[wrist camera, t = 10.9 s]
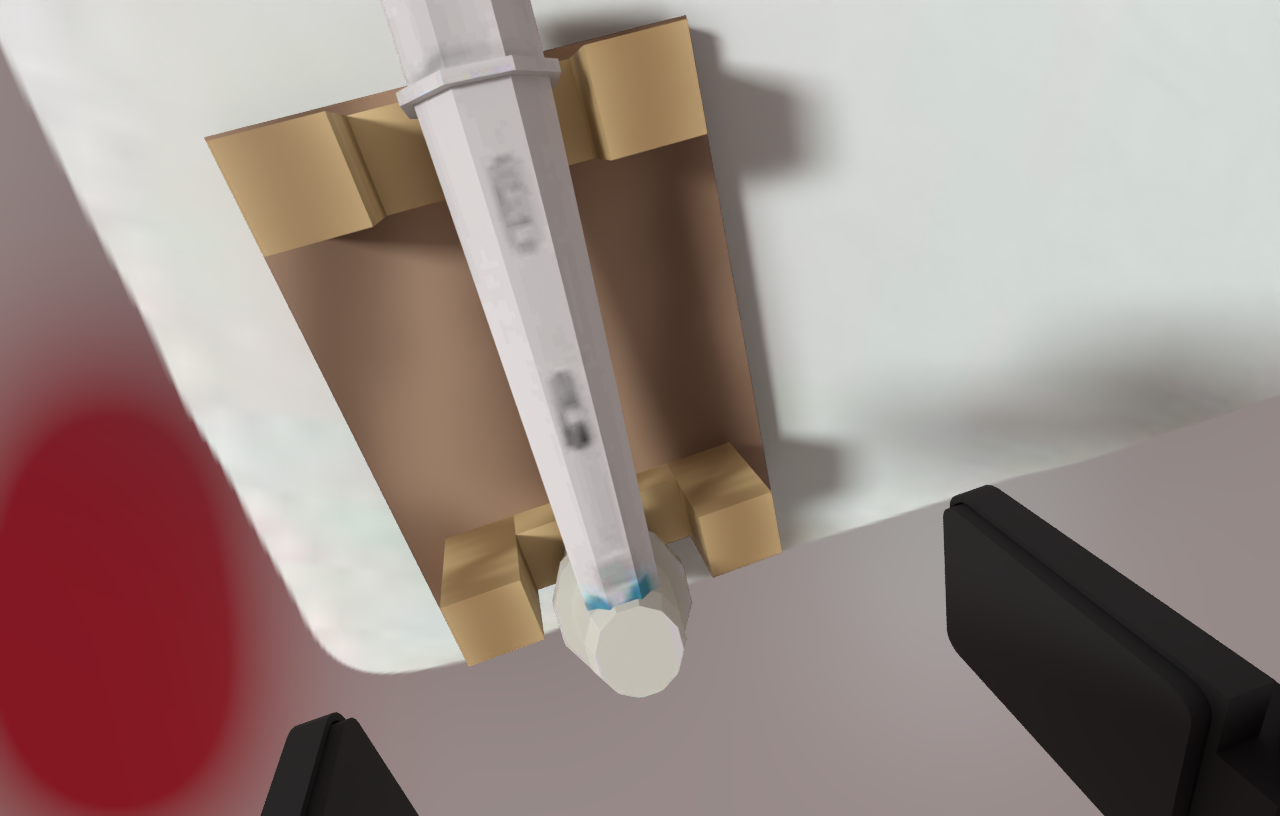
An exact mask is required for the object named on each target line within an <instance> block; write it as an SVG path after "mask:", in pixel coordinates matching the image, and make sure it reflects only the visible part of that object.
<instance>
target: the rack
mask: <svg viewBox="0 0 1280 816" xmlns="http://www.w3.org/2000/svg"><path fill="white" fill-rule="evenodd" d="M543 54H544V58H557V59H558V60H559V65H560V69H561V75H560V78H559V81H558V84H557V87H556V88H554V89H552V92H553V96H554V101H555V106H556V110H557V115H558V119H559V124H560V128H561V133H562V138H563V142H564V147H565V151H566V156H567V161H568V165H569V170H570V174H571V179H572V184H573V188H574V193H575V197H576V202H577V207H578V211H579V216H580V220H581V225H582V229H583V234H584V239H585V243H586V248H587V252H588V257H589V262H590V266H591V271H592V275H593V280H594V285H595V289H596V294H597V298H598V303H599V307H600V312H601V317H602V321H603V326H604V330H605V335H606V340H607V344H608V349H609V353H610V358H611V363H612V367H613V372H614V376H615V381H616V385H617V390H618V395H619V399H620V404H621V408H622V413H623V418H624V422H625V427H626V431H627V436H628V441H629V445H630V450H631V454H632V459H633V463H634V468H635V473H636V477H637V482H638V486H639V491H640V496H641V500H642V505H643V509H644V514H645V519H646V523H647V528H648V531H651V532H654V533H655V534H656V535H657V536H658V537H659V538H660V539H661V540H662V541H663V542H664V543H665V544H668V543H671V542H674V541H677V540H680V539H682V538H685V537H688V536H691V538H692V540H693V542H694V543H695V545H696V547H697V549H698V551H699V553H700V554H701V556H702V558H703V560H704V562H705V564H706V565H707V567H708V569H709V571H710V573H711V575H712V576H713V577H716V576H719V575H722V574H724V573H727V572H730V571H732V570H735V569H738V568H741V567H743V566H746V565H749V564H752V563H754V562H757V561H760V560H763V559H765V558H768V557H771V556H774V555H776V554H779V553H782V549H781V543H780V538H779V532H778V527H777V521H776V515H775V510H774V504H773V499H772V493H771V489H770V484H769V478H768V473H767V467H766V461H765V456H764V450H763V445H762V439H761V433H760V428H759V422H758V417H757V411H756V405H755V400H754V394H753V389H752V383H751V377H750V372H749V366H748V360H747V355H746V349H745V344H744V338H743V332H742V327H741V321H740V316H739V310H738V304H737V299H736V293H735V288H734V282H733V276H732V271H731V265H730V260H729V254H728V248H727V243H726V237H725V232H724V226H723V220H722V215H721V209H720V204H719V198H718V192H717V187H716V181H715V176H714V170H713V164H712V159H711V153H710V147H709V142H708V136H707V128H706V122H705V117H704V111H703V105H702V100H701V94H700V89H699V83H698V77H697V72H696V66H695V61H694V55H693V49H692V44H691V38H690V32H689V27H688V21H687V19H686V15H685V16H681V17H677V18H673V19H669V20H665V21H661V22H657V23H653V24H649V25H645V26H641V27H637V28H633V29H629V30H625V31H622V32H618V33H614V34H610V35H606V36H602V37H598V38H594V39H590V40H586V41H582V42H578V43H574V44H570V45H566V46H562V47H559V48H555V49H551V50H547V51H543ZM405 87H407V86H405ZM405 87H401V88H397V89H393V90H389V91H385V92H381V93H377V94H373V95H369V96H366V97H362V98H358V99H354V100H350V101H346V102H342V103H338V104H334V105H330V106H326V107H322V108H318V109H314V110H310V111H306V112H303V113H299V114H295V115H291V116H287V117H283V118H279V119H275V120H271V121H267V122H263V123H259V124H255V125H251V126H247V127H243V128H240V129H236V130H232V131H228V132H224V133H220V134H216V135H212V136H208V137H204V138H205V140H206V142H207V144H208V146H209V148H210V150H211V152H212V154H213V156H214V158H215V160H216V162H217V164H218V166H219V168H220V170H221V172H222V174H223V176H224V178H225V180H226V182H227V184H228V186H229V188H230V190H231V192H232V194H233V196H234V198H235V200H236V202H237V204H238V206H239V208H240V210H241V212H242V214H243V216H244V218H245V220H246V222H247V224H248V226H249V228H250V230H251V232H252V234H253V236H254V238H255V240H256V242H257V244H258V246H259V248H260V250H261V252H262V254H263V256H264V258H265V260H266V262H267V264H268V266H269V268H270V270H271V272H272V274H273V276H274V278H275V280H276V282H277V284H278V286H279V288H280V290H281V292H282V294H283V296H284V298H285V300H286V302H287V304H288V306H289V308H290V310H291V312H292V314H293V316H294V318H295V320H296V322H297V324H298V326H299V328H300V330H301V332H302V334H303V336H304V338H305V340H306V342H307V344H308V346H309V348H310V350H311V352H312V354H313V356H314V358H315V360H316V362H317V364H318V366H319V368H320V370H321V372H322V374H323V376H324V378H325V380H326V382H327V384H328V386H329V388H330V390H331V392H332V394H333V396H334V398H335V400H336V402H337V404H338V406H339V408H340V410H341V412H342V414H343V416H344V418H345V420H346V422H347V424H348V426H349V428H350V430H351V432H352V434H353V436H354V438H355V440H356V442H357V444H358V446H359V448H360V450H361V452H362V454H363V456H364V458H365V460H366V462H367V464H368V466H369V468H370V470H371V472H372V474H373V476H374V478H375V480H376V482H377V484H378V486H379V488H380V490H381V492H382V494H383V496H384V498H385V500H386V502H387V504H388V506H389V508H390V510H391V512H392V514H393V516H394V518H395V520H396V522H397V524H398V526H399V528H400V530H401V532H402V534H403V536H404V538H405V540H406V542H407V544H408V546H409V548H410V550H411V552H412V554H413V556H414V558H415V560H416V562H417V564H418V566H419V568H420V570H421V572H422V574H423V576H424V578H425V580H426V582H427V584H428V586H429V588H430V590H431V592H432V594H433V596H434V598H435V600H436V602H437V604H438V606H439V608H440V610H441V612H442V614H443V616H444V618H445V620H446V622H447V624H448V626H449V628H450V630H451V632H452V634H453V636H454V638H455V640H456V642H457V644H458V646H459V648H460V650H461V652H462V654H463V656H464V658H465V660H466V662H467V664H468V666H472V665H474V664H477V663H480V662H483V661H486V660H488V659H491V658H494V657H497V656H499V655H502V654H505V653H507V652H510V651H513V650H516V649H519V648H521V647H524V646H526V645H530V644H532V643H535V642H538V641H541V640H543V639H544V631H543V624H542V617H541V609H540V602H539V595H538V590H539V589H542V588H544V587H547V586H550V585H553V584H556V581H557V576H558V571H559V566H560V562H561V561H562V559H563V555H564V550H565V545H564V542H563V539H562V536H561V534H560V531H559V528H558V525H557V522H556V519H555V516H554V513H553V510H552V507H551V504H550V501H549V499H548V496H547V493H546V490H545V487H544V484H543V481H542V478H541V475H540V472H539V469H538V467H537V464H536V461H535V458H534V455H533V452H532V449H531V446H530V443H529V440H528V437H527V434H526V432H525V429H524V426H523V423H522V420H521V417H520V414H519V411H518V408H517V405H516V402H515V400H514V397H513V394H512V391H511V388H510V385H509V382H508V379H507V376H506V373H505V370H504V367H503V365H502V362H501V359H500V356H499V353H498V350H497V347H496V344H495V341H494V338H493V335H492V333H491V330H490V327H489V324H488V321H487V318H486V315H485V312H484V309H483V306H482V303H481V300H480V298H479V295H478V292H477V289H476V286H475V283H474V280H473V277H472V274H471V271H470V268H469V266H468V263H467V260H466V257H465V254H464V251H463V248H462V245H461V242H460V239H459V236H458V234H457V231H456V228H455V225H454V222H453V219H452V216H451V213H450V210H449V207H448V204H447V201H446V199H445V196H444V193H443V190H442V187H441V184H440V181H439V178H438V175H437V172H436V169H435V167H434V164H433V161H432V158H431V155H430V152H429V149H428V146H427V143H426V140H425V137H424V134H423V132H422V129H421V126H420V123H419V120H418V119H409V117H408V116H407V115H406V114H405V112H404V111H403V110H402V108H401V107H400V105H399V102H398V99H397V96H396V92H398V91H400V90H402V89H403V88H405Z"/></svg>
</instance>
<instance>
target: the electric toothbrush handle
mask: <svg viewBox="0 0 1280 816" xmlns="http://www.w3.org/2000/svg"><path fill="white" fill-rule="evenodd" d="M381 3H382V6H383V9H384V12H385V16H386V19H387V22H388V25H389V28H390V32H391V35H392V38H393V41H394V44H395V48H396V51H397V54H398V57H399V61H400V64H401V67H402V70H403V73H404V77H405V80H406V83H407V87H405V88H403V89H402V90H400V91H398V92H396V96H397V99H398V102H399V105H400V107H401V108H402V110H403V111H404V112H405V114H406V115H407V116H408V117H409V119H418V120H419V123H420V126H421V129H422V132H423V134H424V137H425V140H426V143H427V146H428V149H429V152H430V155H431V158H432V161H433V164H434V167H435V169H436V172H437V175H438V178H439V181H440V184H441V187H442V190H443V193H444V196H445V199H446V201H447V204H448V207H449V210H450V213H451V216H452V219H453V222H454V225H455V228H456V231H457V234H458V236H459V239H460V242H461V245H462V248H463V251H464V254H465V257H466V260H467V263H468V266H469V268H470V271H471V274H472V277H473V280H474V283H475V286H476V289H477V292H478V295H479V298H480V300H481V303H482V306H483V309H484V312H485V315H486V318H487V321H488V324H489V327H490V330H491V333H492V335H493V338H494V341H495V344H496V347H497V350H498V353H499V356H500V359H501V362H502V365H503V367H504V370H505V373H506V376H507V379H508V382H509V385H510V388H511V391H512V394H513V397H514V400H515V402H516V405H517V408H518V411H519V414H520V417H521V420H522V423H523V426H524V429H525V432H526V434H527V437H528V440H529V443H530V446H531V449H532V452H533V455H534V458H535V461H536V464H537V467H538V469H539V472H540V475H541V478H542V481H543V484H544V487H545V490H546V493H547V496H548V499H549V501H550V504H551V507H552V510H553V513H554V516H555V519H556V522H557V525H558V528H559V531H560V534H561V536H562V539H563V542H564V545H565V550H564V555H563V559H562V561H561V562H560V566H559V571H558V576H557V581H556V586H555V591H554V596H553V606H554V611H555V614H556V617H557V620H558V623H559V626H560V630H561V633H562V636H563V639H564V642H565V645H566V646H567V647H568V648H569V649H570V650H571V651H573V652H574V653H575V654H576V655H577V656H578V657H579V658H580V659H581V660H582V661H583V662H585V663H586V664H587V665H588V666H589V667H590V668H591V669H592V670H593V671H594V672H595V673H596V674H597V675H598V676H599V677H600V678H601V679H603V680H604V681H605V682H606V683H607V684H608V685H609V686H610V687H611V688H613V689H614V690H615V691H616V692H617V693H619V694H623V695H628V696H633V697H639V698H642V697H645V696H648V695H651V694H654V693H657V692H660V691H662V690H663V689H664V688H665V687H666V686H667V685H668V684H669V683H670V682H671V680H672V679H673V678H674V677H675V676H676V675H677V674H678V671H679V668H680V664H681V660H682V655H683V652H684V647H685V642H686V635H685V629H686V625H687V621H688V617H689V613H690V609H691V605H692V600H691V596H690V592H689V588H688V584H687V580H686V575H685V571H684V567H683V565H682V563H681V562H680V560H679V558H678V557H677V556H676V555H675V554H674V553H673V552H672V551H671V550H670V549H669V548H668V546H667V545H666V544H665V543H664V542H663V541H662V540H661V539H660V538H659V537H658V536H657V535H656V534H655V533H654V532H651V531H648V528H647V523H646V519H645V514H644V509H643V505H642V500H641V496H640V491H639V486H638V482H637V477H636V473H635V468H634V463H633V459H632V454H631V450H630V445H629V441H628V436H627V431H626V427H625V422H624V418H623V413H622V408H621V404H620V399H619V395H618V390H617V385H616V381H615V376H614V372H613V367H612V363H611V358H610V353H609V349H608V344H607V340H606V335H605V330H604V326H603V321H602V317H601V312H600V307H599V303H598V298H597V294H596V289H595V285H594V280H593V275H592V271H591V266H590V262H589V257H588V252H587V248H586V243H585V239H584V234H583V229H582V225H581V220H580V216H579V211H578V207H577V202H576V197H575V193H574V188H573V184H572V179H571V174H570V170H569V165H568V161H567V156H566V151H565V147H564V142H563V138H562V133H561V128H560V124H559V119H558V115H557V110H556V106H555V101H554V96H553V92H552V89H554V88H556V87H557V84H558V81H559V78H560V75H561V69H560V65H559V60H558V59H557V58H544V54H543V50H542V46H541V42H540V38H539V34H538V30H537V26H536V22H535V18H534V14H533V10H532V6H531V2H530V0H381Z"/></svg>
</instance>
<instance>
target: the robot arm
mask: <svg viewBox="0 0 1280 816" xmlns="http://www.w3.org/2000/svg"><path fill="white" fill-rule="evenodd" d="M943 522H944V523H943V525H944V555H945V585H946V616H947V633H948V636H949V640H950V642H951V644H952V646H953V647H954V649H955V651H956V652H957V653H958V654H959V656H960V657H961V658H962V659H963V660H964V661H965V662H966V663H967V664H968V665H969V667H971V669H972V670H973V671H974V672H975V673H976V674H977V675H978V676H979V678H980V679H981V680H982V681H983V682H984V683H985V684H986V685H987V687H988V688H989V689H990V690H991V691H992V692H993V693H994V694H995V695H996V696H997V697H998V699H999V700H1000V701H1001V702H1002V703H1003V704H1004V705H1005V706H1006V708H1007V709H1008V710H1009V711H1010V712H1011V713H1012V714H1013V715H1014V716H1015V717H1016V719H1017V720H1018V721H1019V722H1020V723H1021V724H1022V725H1023V726H1024V727H1025V729H1027V731H1028V732H1029V733H1030V734H1031V735H1032V736H1033V737H1034V738H1035V739H1036V741H1037V742H1038V743H1039V744H1040V745H1041V746H1042V747H1043V748H1044V750H1045V751H1046V752H1047V753H1048V754H1049V755H1050V756H1051V757H1052V758H1053V759H1054V761H1055V762H1056V763H1057V764H1058V765H1059V766H1060V767H1061V768H1062V769H1063V771H1064V772H1065V773H1066V774H1067V775H1068V776H1069V777H1070V778H1071V779H1072V781H1074V783H1075V784H1076V785H1077V786H1078V787H1079V788H1080V789H1081V790H1082V792H1083V793H1084V794H1085V795H1086V796H1087V797H1088V798H1089V799H1090V800H1091V802H1092V803H1093V804H1094V805H1095V806H1096V807H1097V808H1098V809H1099V810H1100V811H1101V813H1102V814H1103V815H1104V816H1280V684H1279V683H1277V682H1276V681H1275V680H1274V679H1272V678H1271V677H1270V676H1268V675H1267V674H1265V673H1264V672H1262V671H1261V670H1259V669H1258V668H1257V667H1255V666H1254V665H1252V664H1251V663H1249V662H1248V661H1246V660H1245V659H1244V658H1242V657H1241V656H1239V655H1238V654H1236V653H1235V652H1233V651H1232V650H1231V649H1229V648H1228V647H1226V646H1225V645H1223V644H1222V643H1220V642H1219V641H1218V640H1216V639H1215V638H1213V637H1212V636H1210V635H1209V634H1207V633H1206V632H1205V631H1203V630H1202V629H1200V628H1199V627H1197V626H1196V625H1194V624H1193V623H1192V622H1190V621H1189V620H1187V619H1186V618H1184V617H1183V616H1182V615H1180V614H1179V613H1177V612H1176V611H1174V610H1173V609H1171V608H1170V607H1169V606H1167V605H1166V604H1164V603H1163V602H1161V601H1160V600H1158V599H1157V598H1156V597H1154V596H1153V595H1151V594H1150V593H1148V592H1147V591H1145V590H1144V589H1143V588H1141V587H1140V586H1138V585H1137V584H1135V583H1134V582H1132V581H1131V580H1130V579H1128V578H1127V577H1125V576H1124V575H1122V574H1121V573H1119V572H1118V571H1117V570H1115V569H1114V568H1112V567H1111V566H1109V565H1108V564H1106V563H1105V562H1103V561H1102V560H1101V559H1099V558H1098V557H1096V556H1095V555H1093V554H1092V553H1091V552H1089V551H1088V550H1086V549H1085V548H1083V547H1082V546H1080V545H1079V544H1078V543H1076V542H1075V541H1073V540H1072V539H1070V538H1069V537H1067V536H1066V535H1065V534H1063V533H1062V532H1060V531H1059V530H1057V529H1056V528H1054V527H1053V526H1052V525H1050V524H1049V523H1047V522H1046V521H1044V520H1043V519H1041V518H1040V517H1039V516H1037V515H1036V514H1034V513H1033V512H1031V511H1030V510H1028V509H1027V508H1026V507H1024V506H1023V505H1021V504H1020V503H1018V502H1017V501H1015V500H1014V499H1013V498H1011V497H1010V496H1008V495H1007V494H1005V493H1004V492H1002V491H1001V490H1000V489H998V488H996V487H994V486H992V485H985V486H982V487H979V488H976V489H973V490H971V491H968V492H965V493H962V494H959V495H956V496H954V497H953V498H952V499H951V501H950V508H948V509H946V510H945V511H944V515H943ZM261 816H419V815H418V814H417V812H416V811H415V809H414V808H413V806H412V804H411V803H410V802H409V800H408V798H407V797H406V795H405V794H404V792H403V790H402V789H401V787H400V786H399V784H398V783H397V781H396V780H395V778H394V777H393V775H392V774H391V772H390V770H389V769H388V767H387V766H386V764H385V763H384V761H383V760H382V758H381V757H380V755H379V753H378V752H377V751H376V749H375V747H374V746H373V744H372V743H371V741H370V739H369V738H368V737H367V735H366V733H365V732H364V730H363V729H362V727H361V726H360V724H359V723H358V721H357V720H356V719H354V718H349V719H345V718H344V717H343V716H342V715H341V714H339V713H337V712H336V713H332V714H329V715H326V716H323V717H320V718H317V719H314V720H311V721H309V722H306V723H303V724H300V725H297V726H295V727H294V728H293V729H292V730H291V731H290V733H289V735H288V737H287V739H286V742H285V745H284V748H283V751H282V754H281V757H280V760H279V763H278V766H277V769H276V772H275V775H274V778H273V781H272V784H271V787H270V790H269V793H268V796H267V798H266V801H265V804H264V807H263V810H262V813H261Z"/></svg>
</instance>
